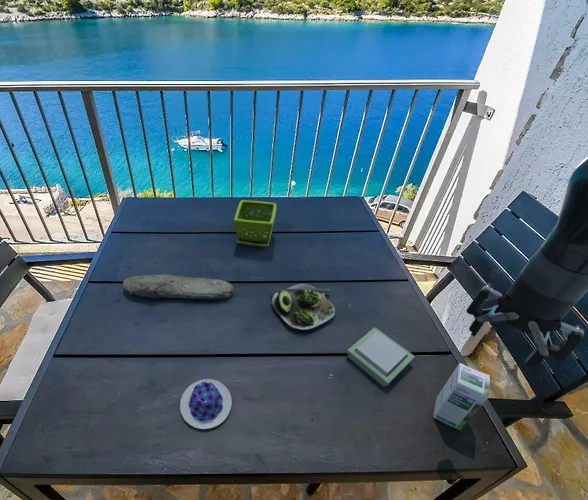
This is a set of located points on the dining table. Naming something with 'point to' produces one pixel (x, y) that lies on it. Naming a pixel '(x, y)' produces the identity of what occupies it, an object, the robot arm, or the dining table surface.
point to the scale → (370, 368)
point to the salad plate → (302, 306)
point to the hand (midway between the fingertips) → (500, 347)
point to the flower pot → (254, 223)
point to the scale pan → (381, 353)
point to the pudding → (205, 404)
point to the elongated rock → (177, 287)
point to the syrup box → (461, 396)
